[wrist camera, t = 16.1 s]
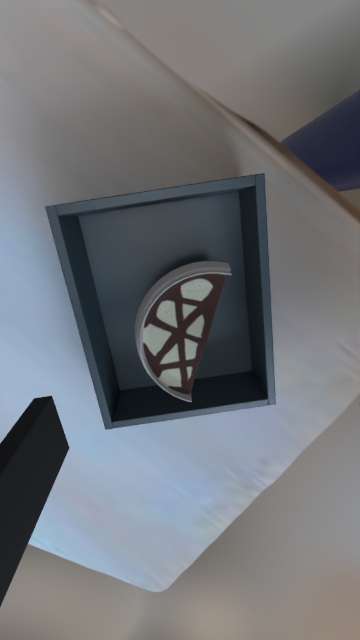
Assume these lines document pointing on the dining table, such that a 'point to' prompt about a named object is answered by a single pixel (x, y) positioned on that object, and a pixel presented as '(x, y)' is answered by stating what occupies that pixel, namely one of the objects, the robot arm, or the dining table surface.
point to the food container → (178, 324)
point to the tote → (151, 265)
